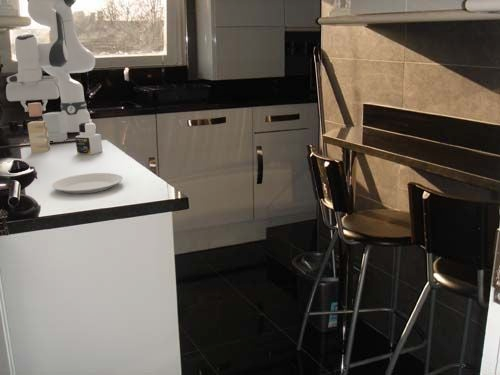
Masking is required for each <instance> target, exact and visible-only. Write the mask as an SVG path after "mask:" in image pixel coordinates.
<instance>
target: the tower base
mask: <svg viewBox="0 0 500 375" xmlns="http://www.w3.org/2000/svg"><path fill="white" fill-rule="evenodd" d="M29 144H30V150H31V154H33V153H47V152H48V151H50V150H51V144H50V142H49V140H48V141H46V142H42V143H30V142H29Z"/></svg>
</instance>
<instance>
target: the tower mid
mask: <svg viewBox="0 0 500 375" xmlns="http://www.w3.org/2000/svg"><path fill="white" fill-rule="evenodd" d="M28 137H29V138H28V139H29V144H30V143H42V142H46V141H48V140H49V137H48V130H47V131H46V132H44V133H29V132H28Z"/></svg>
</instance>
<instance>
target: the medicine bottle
mask: <svg viewBox="0 0 500 375" xmlns="http://www.w3.org/2000/svg"><path fill="white" fill-rule="evenodd" d="M95 127H96V123H94V122H93V121H92V122H86V123H81V124H79V131H80V132H79V135H76V136H75V137H74V138H75V145H76V147H75V148H76V153H77V155H83V156H84V155H85V156H91V155H95V154H99V153H102V152H103V141H102V135H101V133H96V129H95Z"/></svg>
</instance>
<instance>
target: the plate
mask: <svg viewBox="0 0 500 375" xmlns="http://www.w3.org/2000/svg"><path fill="white" fill-rule="evenodd" d="M123 179H124V177H123V176H122V175H120V174H117V173H109V172H108V173H107V172H105V173H104V172H97V173H95V172H94V173H85V174H84V173H83V174H78V175H73V176H68V177H64V178H60V179H58V180H56V181H54V182H53V183H52V184H51V187H52V188H53V189H54V190H57V191H62V192H65V193H67V194H75V195H83V194H94V193H98V192H102V191H105V190H108V189H111V188H112V187H113V186H115V185H117V184H119V183H121V182H122V181H123Z"/></svg>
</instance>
